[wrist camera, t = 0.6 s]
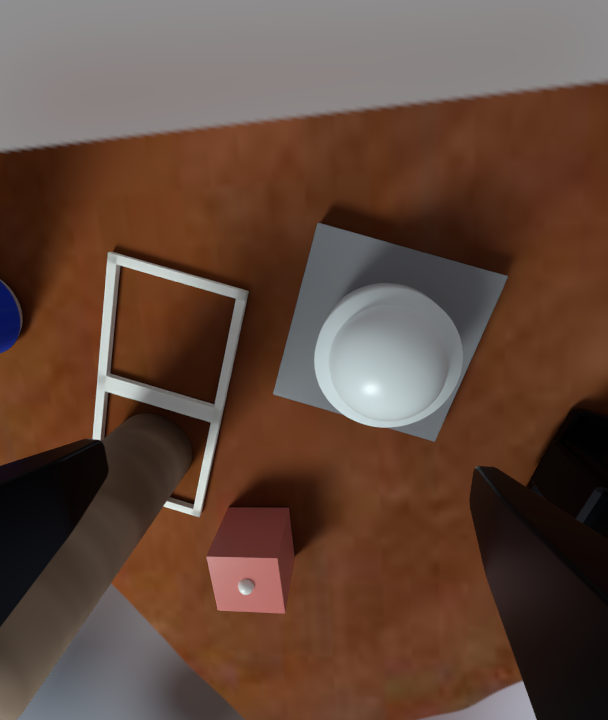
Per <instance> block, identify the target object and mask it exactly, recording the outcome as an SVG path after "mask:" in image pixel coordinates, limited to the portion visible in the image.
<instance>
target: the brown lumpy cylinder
mask: <svg viewBox="0 0 608 720" xmlns="http://www.w3.org/2000/svg"><path fill="white" fill-rule="evenodd" d="M102 442H103V443H104V446H105V451H106V456H107V461H108V466H109V472H108V476H107V478H106V480H105V482H104V483H103V485H102V486H101V488H100V490H99V491H98V493H97V494H96V496H95V498H94V499H93V501H92V502H91V504H90V505H89V507H88V509H87V510H86V512H85V513H84V515H83V517H82V518H81V520H80V521H79V523H78V524H77V526H76V527H75V529H74V530H73V532H72V533H71V535H70V536H69V537H68V539H67V540H66V541H65V543H64V544H63V545H62V547H61V548H60V549H59V551H58V552H57V553H56V555H55V556H54V557H53V559H52V560H51V561H50V563H49V564H48V565H47V566H46V568H45V569H44V570H43V572H42V573H41V574H40V576H39V577H38V578H37V580H36V581H35V582H34V584H33V585H32V586H31V588H30V589H29V590H28V591H27V593H26V594H25V595H24V597H23V598H22V599H21V601H20V602H19V603H18V605H17V606H16V607H15V609H14V610H13V611H12V613H11V614H10V615H9V617H8V618H7V619H6V620H5V622H4V623H3V624H2V626H1V627H0V720H16V719H17V718H18V717H20V716H21V714H22V713H23V711H24V710H25V708H26V707H27V705H28V704H29V702H30V701H31V699H32V698H33V697H34V695H35V694H36V692H37V691H38V689H39V688H40V686H41V685H42V684H43V682H44V681H45V679H46V678H47V676H48V675H49V673H50V671H51V670H52V669H53V667H54V666H55V664H56V663H57V661H58V660H59V659H60V657H61V655H62V654H63V653H64V651H65V650H66V648H67V647H68V645H69V644H70V642H71V641H72V639H73V638H74V637H75V635H76V634H77V632H78V631H79V629H80V628H81V626H82V625H83V623H84V622H85V620H86V619H87V617H88V616H89V614H90V613H91V612H92V610H93V609H94V607H95V606H96V604H97V603H98V601H99V600H100V598H101V597H102V595H103V594H104V592H105V591H106V590H107V588H108V587H109V585H110V584H111V582H112V581H113V579H114V578H115V576H116V575H117V573H118V572H119V570H120V569H121V568H122V566H123V565H124V563H125V562H126V560H127V559H128V557H129V556H130V554H131V553H132V551H133V550H134V548H135V547H136V546H137V544H138V543H139V541H140V540H141V538H142V537H143V535H144V534H145V532H146V531H147V529H148V528H149V526H150V525H151V524H152V522H153V521H154V519H155V518H156V516H157V515H158V513H159V512H160V510H161V509H162V507H163V506H164V504H165V503H166V501H167V500H168V499H169V497H170V496H171V494H172V493H173V491H174V490H175V488H176V487H177V485H178V484H179V482H180V481H181V479H182V478H183V477H184V475H185V474H186V472H187V471H188V469H189V467H190V465H191V462H192V447H191V444H190V441H189V439H188V437H187V436H186V434H185V433H184V431H183V430H182V429H181V428H180V427H179V426H178V425H177V424H175V423H174V422H173V421H171V420H169V419H168V418H165V417H163V416H160V415H157V414H151V413H143V414H137V415H134V416H132V417H130V418H128V419H127V420H126V421H125V422H123V423H122V424H121V425H120V426H119V427H117V428H116V429H115V430H114V431H113V432H111V433H110V434H109V435H108V436H107V437H105V438H104V439H103V440H102Z"/></svg>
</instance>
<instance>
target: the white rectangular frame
mask: <svg viewBox="0 0 608 720" xmlns="http://www.w3.org/2000/svg"><path fill="white" fill-rule="evenodd" d="M120 265H121V266H124V267H128V268H131V269H135V270H138V271H141V272H145V273H148V274H152V275H155V276H159V277H162V278H166V279H169V280H173V281H176V282H180V283H183V284H187V285H190V286H194V287H197V288H200V289H204V290H207V291H211V292H214V293H218V294H221V295H225V296H228V297H232V298H235V299H236V301H235V306H234V311H233V316H232V321H231V326H230V331H229V336H228V341H227V346H226V351H225V355H224V360H223V365H222V370H221V375H220V380H219V385H218V390H217V395H216V400H215V404H211V403H208V402H205V401H201V400H198V399H194V398H191V397H188V396H184V395H181V394H178V393H174V392H171V391H167V390H164V389H161V388H157V387H154V386H150V385H147V384H144V383H140V382H137V381H133V380H130V379H127V378H123V377H120V376H117V375H113V374H110V370H111V360H112V349H113V338H114V328H115V317H116V306H117V296H118V285H119V274H120ZM248 294H249V291H247V290H244V289H240V288H237V287H233V286H230V285H226V284H223V283H220V282H216V281H213V280H209V279H206V278H202V277H199V276H195V275H192V274H188V273H185V272H181V271H178V270H174V269H171V268H167V267H164V266H160V265H157V264H153V263H150V262H146V261H143V260H140V259H136V258H133V257H129V256H126V255H122V254H119V253H115V252H108V258H107V270H106V282H105V295H104V307H103V319H102V331H101V343H100V356H99V368H98V380H97V392H96V404H95V417H94V429H93V439H96V440H101V441H102V440H103V439H104V434H105V423H106V413H107V402H108V392H110V393H113V394H116V395H120V396H123V397H127V398H130V399H133V400H137V401H140V402H143V403H147V404H150V405H154V406H157V407H160V408H164V409H167V410H170V411H174V412H177V413H181V414H184V415H187V416H191V417H194V418H197V419H201V420H204V421H207V422H211V424H210V429H209V434H208V439H207V444H206V449H205V454H204V459H203V464H202V468H201V473H200V478H199V483H198V488H197V493H196V498H195V503H194V504H191V503H187V502H184V501H181V500H178V499H174V498H171V497H169V499H168V500H167V501H166V503H165V504H164V507H167V508H170V509H174V510H177V511H180V512H184V513H187V514H190V515H194V516H197V517H200V515H201V513H202V509H203V504H204V499H205V495H206V490H207V485H208V481H209V476H210V471H211V467H212V462H213V457H214V453H215V448H216V443H217V439H218V434H219V429H220V425H221V420H222V415H223V411H224V406H225V401H226V397H227V392H228V387H229V383H230V378H231V373H232V369H233V364H234V359H235V354H236V350H237V345H238V340H239V336H240V331H241V326H242V322H243V317H244V312H245V308H246V303H247V298H248Z"/></svg>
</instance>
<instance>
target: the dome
mask: <svg viewBox="0 0 608 720" xmlns="http://www.w3.org/2000/svg"><path fill="white" fill-rule="evenodd" d="M462 363H463V350H462V344H461V339H460V336H459V333H458V331H457V328H456V327H455V325H454V323H453V321H452V320H451V319H450V317H449V316H448V315H447V314H446V312H445V311H444V310H442V309H441V308H440V307H439V306H438V305H437V304H436V303H435V302H433V301H432V300H431V299H430V298H429V297H427V296H426V295H424V294H423V293H422V292H420V291H418V290H416V289H414V288H411V287H409V286H406V285H401V284H397V283H376V284H371V285H367V286H364V287H361V288H359V289H356V290H354V291H352V292H351V293H349V294H347V295H346V296H344V297H343V298H342V299H341V300H340V301H338V302H337V303H336V305H335V306H334V307H333V308H332V309H331V310H330V312H329V313H328V315H327V316H326V318H325V320H324V322H323V325H322V327H321V330H320V333H319V337H318V340H317V344H316V348H315V356H314V365H315V373H316V378H317V380H318V383H319V386H320V388H321V390H322V392H323V394H324V395H325V397H326V398H327V399H328V401H329V402H330V403H331V404H332V405H333V406H334V407H335V408H336V409H337V410H338V411H339V412H340V413H342V414H343V415H345V416H347V417H348V418H350V419H352V420H354V421H356V422H359V423H362V424H365V425H369V426H374V427H399V426H404V425H408V424H411V423H414V422H417V421H419V420H421V419H423V418H425V417H427V416H428V415H430V414H431V413H433V412H434V411H436V410H437V409H438V408H439V407H440V406H441V405H442V404H443V403H444V402H445V401H446V400H447V399H448V398H449V396H450V395H451V393H452V392H453V390H454V388H455V386H456V384H457V382H458V380H459V377H460V374H461V369H462Z"/></svg>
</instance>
